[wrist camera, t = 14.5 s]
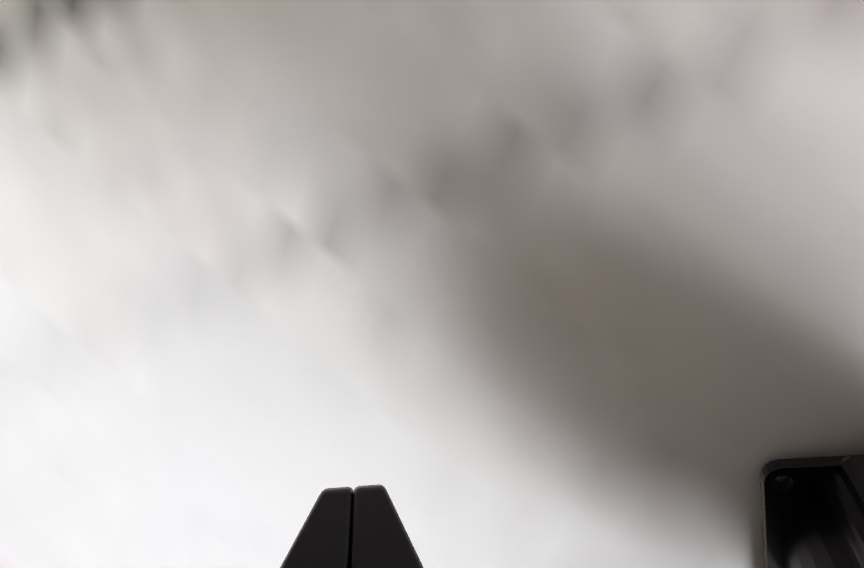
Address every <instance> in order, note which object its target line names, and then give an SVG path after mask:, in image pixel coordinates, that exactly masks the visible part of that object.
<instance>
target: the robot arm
mask: <svg viewBox="0 0 864 568" xmlns="http://www.w3.org/2000/svg"><path fill="white" fill-rule="evenodd" d="M779 476H788V478H787V479H785V480H783V481H774V480H775V479H776V478H777V477H779ZM760 479H761V501H762V522H763V544H764V565H765V568H864V455H851V456H837V457H818V458H798V459H779V460H774V461H771V462H769V463H767V464H765V466H764V467H763V468H762V469H761V474H760ZM280 568H423V566H422V564H421V561H420V559H419V557H418V555H417V553H416V551H415V549H414V547H413V545H412V543H411V541H410V538H409V536H408V534H407V532H406V530H405V528H404V526H403V524H402V522H401V520H400V518H399V516H398V513H397V511H396V509H395V507H394V505H393V503H392V501H391V499H390V497H389V495H388V493H387V491H386V489H385V487H384V486H382V485H368V486H358V487H356V488H355V490H354V491H353V489H352V488H350V487H340V488H327V489H325V490H323V491H322V492H321V494H320V495H319V497H318V499H317V501H316V503H315V504H314V506H313V508H312V510H311V512H310V514H309V516H308V517H307V519H306V521H305V523H304V525H303V527H302V528H301V530H300V532H299V534H298V536H297V538H296V539H295V541H294V543H293V545H292V547H291V549H290V551H289V552H288V554H287V556H286V558H285V560H284V562H283V563H282V565H281V567H280Z"/></svg>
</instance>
